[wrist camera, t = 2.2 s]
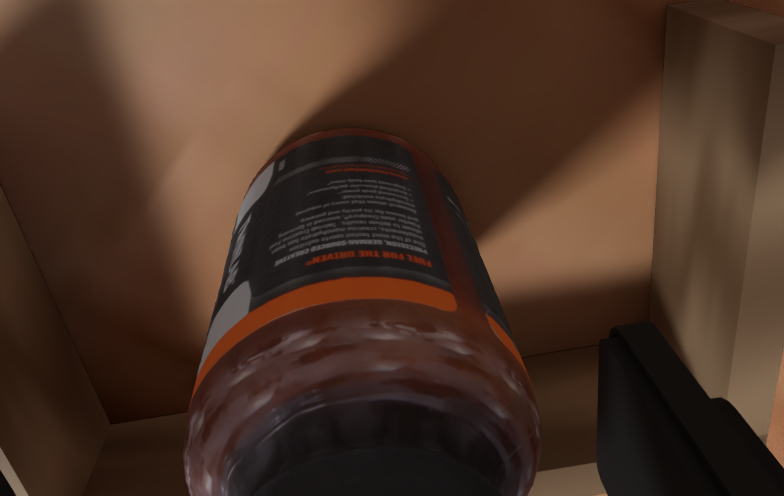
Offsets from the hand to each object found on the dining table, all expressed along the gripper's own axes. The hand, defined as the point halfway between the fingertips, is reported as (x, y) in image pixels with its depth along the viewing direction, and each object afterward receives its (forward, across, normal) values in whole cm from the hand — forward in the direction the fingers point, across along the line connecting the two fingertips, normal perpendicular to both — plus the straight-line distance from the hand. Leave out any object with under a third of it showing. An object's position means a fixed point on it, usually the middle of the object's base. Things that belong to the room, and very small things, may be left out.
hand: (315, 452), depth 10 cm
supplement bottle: (+9, -1, +1) cm, 9 cm away
